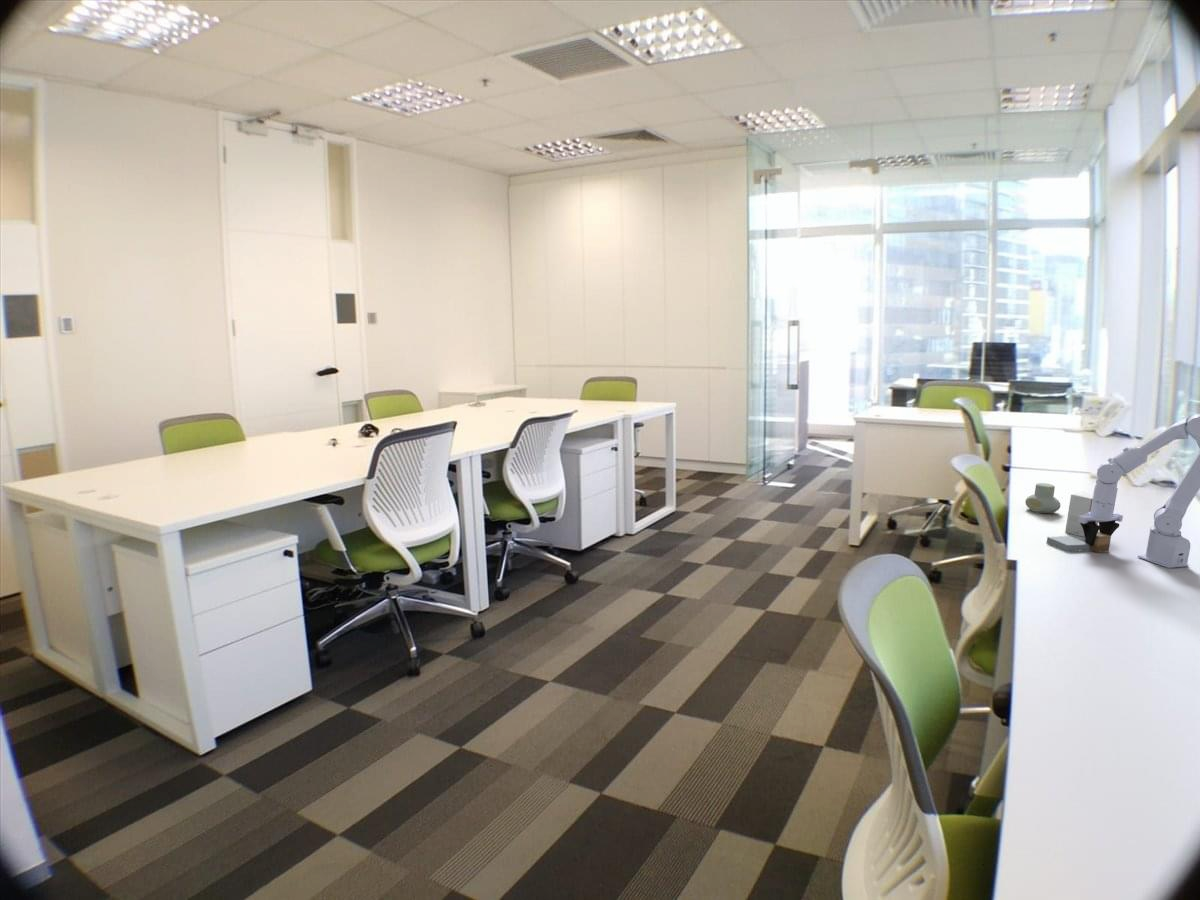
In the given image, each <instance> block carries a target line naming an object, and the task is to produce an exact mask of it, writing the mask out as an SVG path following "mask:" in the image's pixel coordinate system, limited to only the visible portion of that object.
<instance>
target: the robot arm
mask: <svg viewBox="0 0 1200 900" xmlns="http://www.w3.org/2000/svg"><path fill="white" fill-rule="evenodd" d="M1189 436H1190V437H1191V438H1192V439H1193V440H1194V441H1195V442H1196V445H1198V448H1199V449H1200V412H1196V413H1193V414H1190V415H1189V416H1188V417H1187V418H1183V419H1181V420H1179V421H1177V422H1176V423H1174V424H1171V425H1170V426H1169V427H1167V428H1166V429H1164V430H1163V431H1161V432H1159V433H1158V434H1156V435H1155V436H1153V437H1152V438H1150V439H1149V440H1148V441H1147V442H1145V443H1143V444H1142V445H1140V446H1134V445H1133V446H1132V445H1131V446H1129V447H1127V446H1126V447H1124V448H1123V449H1122V452H1120V453H1119V454H1116V455H1115V456H1114V457H1109V458H1107V461H1105V462H1102V463H1101V464H1100V465H1099V467H1098V468H1097V472H1096V475H1097V478H1096V479H1095V484H1094V490H1093V493H1092V494H1093V500H1092V505H1091V511H1090V512H1088V513H1087V514H1086V515H1082V516H1079V519H1078V522H1080V524H1081V526H1082V528H1083V531H1084V535H1085V537H1084V542H1085V543H1087V544H1089V545H1090V546H1093V545H1094V542H1095V538H1096V535H1097V533H1098V531H1099V532H1102V533H1105V534H1108V535H1110V536H1111V537H1112V535H1113V534H1114V532H1115V531H1117V529H1118V528H1119V527H1120V522H1123V519H1124V515H1122V514H1120V513H1114V511H1115V507H1116V506H1115V505H1116V500H1117V494H1118V490H1119V489H1118V484H1119V483H1118V482H1119V481H1120V479H1121V477H1122V475H1127V474H1129V473H1131V472H1132V471H1133V470H1135V469H1137V468H1138V467H1140V466H1142V465H1144V464H1145V463H1147V461H1148V456H1149V455H1151V454H1152V453H1155V452H1156V451H1157V450H1160V449H1162V448H1163V447H1165V446H1166V445H1169V444H1170V443H1172V442H1174V441H1176V440H1188V439H1189ZM1199 490H1200V450H1199V451H1198V453H1197V454H1196V456H1195V458H1194V459H1193V460H1192V462H1191V464H1190V466H1189V467H1188V468H1187V470H1186V472H1185V473H1184V474H1183V477H1182V478H1181V480H1180V481H1179V483H1178V484H1177V486H1176V488H1175V489H1174V491H1173V492H1172V494H1171V496H1170V497H1169V498H1168V499H1167V500H1166V501H1165V503H1164V504H1163V505H1162V506H1161V507H1159V508H1158V509H1156V510H1155V511H1154V515H1153V519H1154V521H1153V524H1154V525H1153V526H1151V527H1150V528H1149V534H1148V541H1147V545H1146V552H1145V554H1140V555H1137V558H1139V559H1142V560H1145V561H1148V562H1151V563H1153V564H1156V565H1159V566H1161V567H1164V568H1167V569H1171V568H1182V567H1189V566H1190V564H1189V563H1188V562H1189V555H1190V551H1191V542H1190V540H1189V539H1188V538H1185V537H1184V536H1183V535H1182V531H1181V529H1182V526H1183V519H1184V516H1185V514H1186V512H1187V510H1188V508H1189V506H1190V504H1191V503H1192V501H1193V500H1194V498H1195V496H1196V495H1197V493H1198V492H1199ZM1096 522H1098V525H1096V524H1095V523H1096ZM1118 522H1119V523H1118Z"/></svg>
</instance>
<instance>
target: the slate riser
mask: <svg viewBox="0 0 1200 900" xmlns="http://www.w3.org/2000/svg"><path fill="white" fill-rule="evenodd" d="M1047 543H1048V544H1047ZM1046 544H1047V545H1050V546H1052V547H1054V546H1055V548H1057V549H1059V548H1060V549H1059V550H1062V551H1064V550H1065V551H1064V552H1066V551H1070V552H1080V551H1079V550H1089V551H1091V550H1090V545H1089V544H1087V543H1085V541H1083V540H1080V539H1079V538H1076V537H1074V536H1070V535H1063V536H1061V535H1060V536H1047V538H1046Z"/></svg>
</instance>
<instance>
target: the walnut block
mask: <svg viewBox="0 0 1200 900" xmlns="http://www.w3.org/2000/svg"><path fill="white" fill-rule="evenodd" d="M1111 538H1112V535H1111V536H1110V535H1108V534H1105V533H1102V532H1099V531H1098V533H1097V535H1096V538H1095V542H1094V545H1093V546H1090V550H1089V551H1092V552H1094V551H1095V553H1106V552H1105V551H1108V552H1109V551H1110V545H1111Z"/></svg>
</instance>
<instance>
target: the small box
mask: <svg viewBox="0 0 1200 900" xmlns="http://www.w3.org/2000/svg"><path fill="white" fill-rule="evenodd" d="M1093 494H1094V493H1092V492H1088V491H1081V492H1075V493H1071V494H1070V498H1069V506H1068V512H1067V519H1066V526H1065V531H1064V533H1066V534H1067V533H1068V534H1071V535H1076V536H1079V537H1084V538H1085V535H1084V531H1083V528H1082V526H1081V524H1080V522H1078V519H1079V516H1082V515H1086V514H1087V513H1088V512H1090V511H1091V505H1092V500H1093ZM1095 524H1096V525H1099V522H1096V523H1095Z"/></svg>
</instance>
